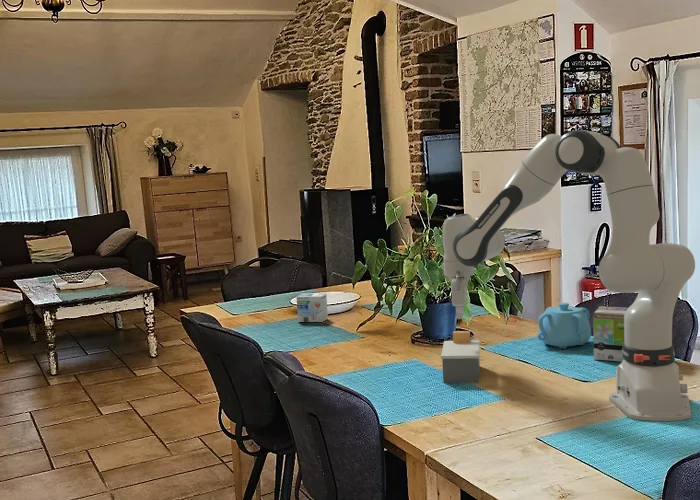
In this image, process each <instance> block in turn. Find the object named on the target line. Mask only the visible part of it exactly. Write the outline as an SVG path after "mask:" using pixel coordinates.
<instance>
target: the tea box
mask: <svg viewBox="0 0 700 500" xmlns="http://www.w3.org/2000/svg"><path fill="white" fill-rule="evenodd" d="M628 308H629V307H622V306H621V307H620V306H619V307H618V306H600V305H599V306H598V308H597V309H596V310H595V311H594V312H593V319H592V320H593V329H592V331H593V335H592V336H593V346H592V347H593V361H595V360H596V361H611V362H620V363H622V361H623V353H622V348H623V343H624V315H625V312H626V310H627V309H628Z"/></svg>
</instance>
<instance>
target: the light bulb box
mask: <svg viewBox="0 0 700 500" xmlns="http://www.w3.org/2000/svg"><path fill="white" fill-rule="evenodd" d="M296 309H297V323H298V322H323V321H325V320H326V319H328V320H329V315H328V314H329V313H328V299H327V293H326V292H324V293H321V292H319V293H315V292H313V293H310V292H309V293H306V292H304V293H300V294H299V295H296ZM326 321H327V320H326ZM326 321H325V322H326ZM323 323H324V322H323Z"/></svg>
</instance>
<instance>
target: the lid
mask: <svg viewBox="0 0 700 500" xmlns="http://www.w3.org/2000/svg"><path fill="white" fill-rule="evenodd" d="M442 345H443V346H442V349H441V354H440V359H441V360H442V359H463V358H479V359H480V356H481V355H480V353H481V352H480V350H481V347H480V346H481V340H471V331H470V330H461V331H460V330H458V331H457V330H455V331H452V340H444V341H443V344H442Z"/></svg>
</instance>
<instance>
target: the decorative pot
mask: <svg viewBox="0 0 700 500" xmlns="http://www.w3.org/2000/svg"><path fill="white" fill-rule="evenodd" d="M590 317H591V316H590V311H589V310H588V309H587V308H586V307H576V306H572V305H570V303H568V302H559V303H558V306H548V307H546V309H545V310H544V312H543V313H541V314H540V315H539V317H538V320H537V323H538V330H537V333H538V334H537V339H538V340H540V341H542V343H544V344H547V345H548V344H549V345H550V346H552V347H553V346H554V347H559V348H566V349H567V348H568V347H575V346H576V345H583V346H584V345H585V344H586V343H588V341H590V339H591V337H592V328H591V325H590V321H589V319H590ZM559 348H558V349H559Z"/></svg>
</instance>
